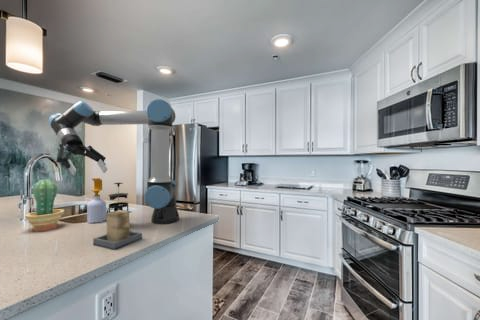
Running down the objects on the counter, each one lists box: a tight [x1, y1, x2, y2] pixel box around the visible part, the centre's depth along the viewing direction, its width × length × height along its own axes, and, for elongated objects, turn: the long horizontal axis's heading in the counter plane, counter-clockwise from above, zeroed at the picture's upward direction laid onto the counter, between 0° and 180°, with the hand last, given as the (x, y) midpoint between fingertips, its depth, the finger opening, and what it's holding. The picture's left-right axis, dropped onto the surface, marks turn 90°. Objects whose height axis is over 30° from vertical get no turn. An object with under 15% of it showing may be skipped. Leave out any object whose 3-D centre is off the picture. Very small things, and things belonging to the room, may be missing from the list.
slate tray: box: [92, 230, 143, 251], centre depth 94 cm, size 13×13×2 cm
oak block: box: [106, 210, 131, 242], centre depth 94 cm, size 6×6×12 cm
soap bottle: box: [86, 177, 107, 224], centre depth 126 cm, size 9×9×25 cm
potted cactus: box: [24, 179, 65, 232], centre depth 114 cm, size 15×15×25 cm
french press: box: [108, 182, 129, 213], centre depth 116 cm, size 12×9×23 cm
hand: (91, 171), depth 99 cm, fingers open, 13 cm apart
